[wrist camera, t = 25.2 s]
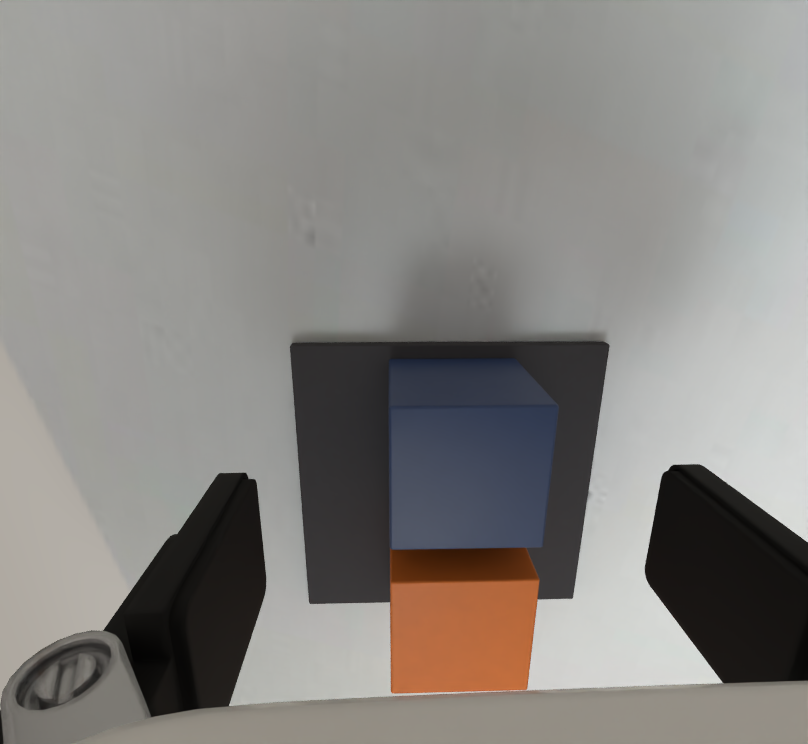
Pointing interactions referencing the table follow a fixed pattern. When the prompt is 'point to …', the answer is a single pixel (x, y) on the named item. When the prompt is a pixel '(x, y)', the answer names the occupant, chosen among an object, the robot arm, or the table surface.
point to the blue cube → (468, 454)
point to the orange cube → (461, 619)
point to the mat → (369, 456)
